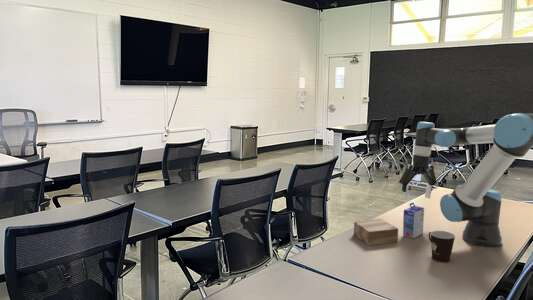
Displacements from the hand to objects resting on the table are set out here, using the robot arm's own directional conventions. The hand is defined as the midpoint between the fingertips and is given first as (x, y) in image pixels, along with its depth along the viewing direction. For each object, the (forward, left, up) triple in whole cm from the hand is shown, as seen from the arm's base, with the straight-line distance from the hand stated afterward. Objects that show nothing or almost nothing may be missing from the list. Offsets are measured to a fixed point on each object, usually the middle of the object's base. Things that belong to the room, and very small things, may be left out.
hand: (416, 198), depth 190 cm
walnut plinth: (-10, +27, -14) cm, 32 cm away
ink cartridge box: (-10, +8, -14) cm, 19 cm away
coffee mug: (-34, +13, -14) cm, 39 cm away
